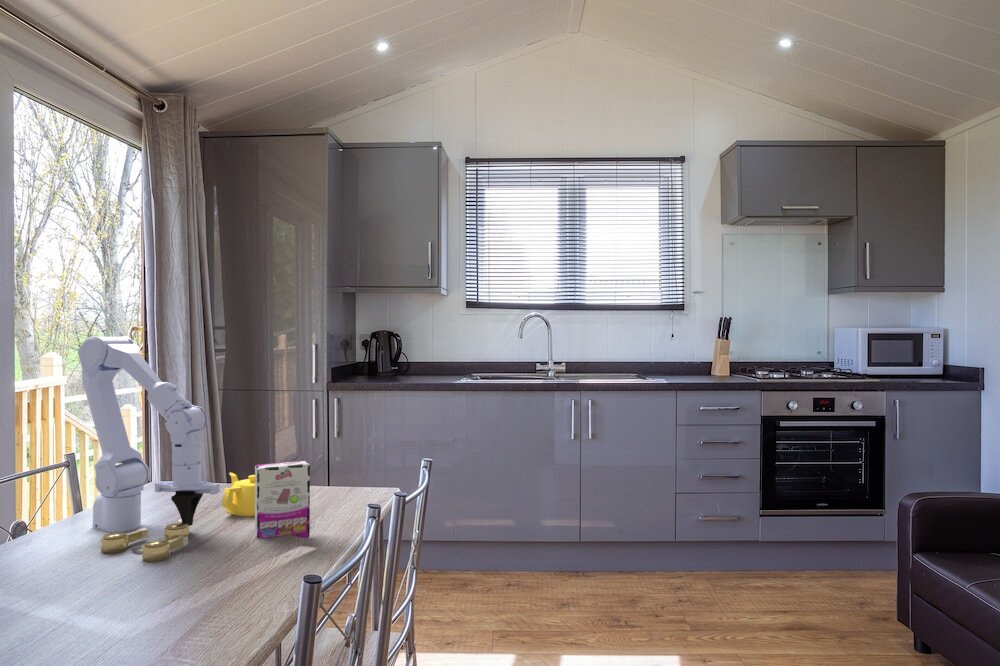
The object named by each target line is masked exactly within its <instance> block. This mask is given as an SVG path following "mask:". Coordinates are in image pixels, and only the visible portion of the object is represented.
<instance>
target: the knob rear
mask: <svg viewBox="0 0 1000 666" xmlns="http://www.w3.org/2000/svg"><path fill="white" fill-rule="evenodd" d="M163 529H164V530H163V531H164V535H163V537H164V538H163V539H165V540H168V541H169V540H172V539H175V538H178V537H179V536H182V535H184V536H188V540H189V537H190V532H189V531H190V526H189V525H187V523H182V519H181V518H180V519H178V520H177V522H173V523H169V524H167V525H166V526H165V527H164V528H163Z"/></svg>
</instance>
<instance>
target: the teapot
mask: <svg viewBox="0 0 1000 666" xmlns="http://www.w3.org/2000/svg"><path fill="white" fill-rule="evenodd" d="M228 474H229V476H230V477H231V478H230V479H231V487H225V488H224V492H223V497H222V502H221V507H223V508H225V511H226V512H227V513H228V514H230V515H233V516H239V517H255V474H251V475H248V478H247V479H242V480H241V479H240V480H239V478H238V475H237V474H235V473H233V472H229V473H228Z"/></svg>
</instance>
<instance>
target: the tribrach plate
mask: <svg viewBox="0 0 1000 666" xmlns="http://www.w3.org/2000/svg"><path fill="white" fill-rule="evenodd" d="M143 545H144V543H142V544H139V545H136V546H134V547H133V548H132V550H131V551H132V553H133V554H135V555H142V549H143Z"/></svg>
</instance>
